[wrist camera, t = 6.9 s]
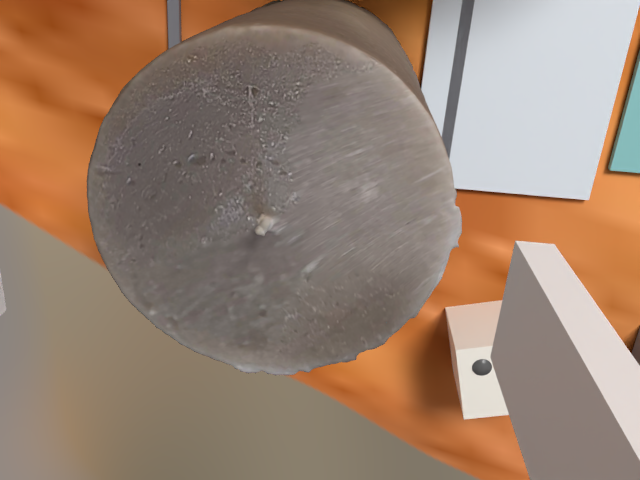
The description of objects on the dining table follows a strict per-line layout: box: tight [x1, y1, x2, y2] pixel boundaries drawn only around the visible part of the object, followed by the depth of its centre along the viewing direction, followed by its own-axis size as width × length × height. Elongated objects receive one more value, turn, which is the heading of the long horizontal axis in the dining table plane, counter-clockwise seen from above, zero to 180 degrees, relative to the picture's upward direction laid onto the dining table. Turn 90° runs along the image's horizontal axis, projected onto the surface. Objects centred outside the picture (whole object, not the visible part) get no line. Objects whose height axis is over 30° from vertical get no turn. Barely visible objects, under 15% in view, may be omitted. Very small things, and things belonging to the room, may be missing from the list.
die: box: [445, 300, 509, 419], centre depth 30 cm, size 4×4×4 cm
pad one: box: [421, 0, 640, 200], centre depth 27 cm, size 9×8×1 cm
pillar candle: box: [87, 0, 462, 375], centre depth 21 cm, size 10×10×15 cm
